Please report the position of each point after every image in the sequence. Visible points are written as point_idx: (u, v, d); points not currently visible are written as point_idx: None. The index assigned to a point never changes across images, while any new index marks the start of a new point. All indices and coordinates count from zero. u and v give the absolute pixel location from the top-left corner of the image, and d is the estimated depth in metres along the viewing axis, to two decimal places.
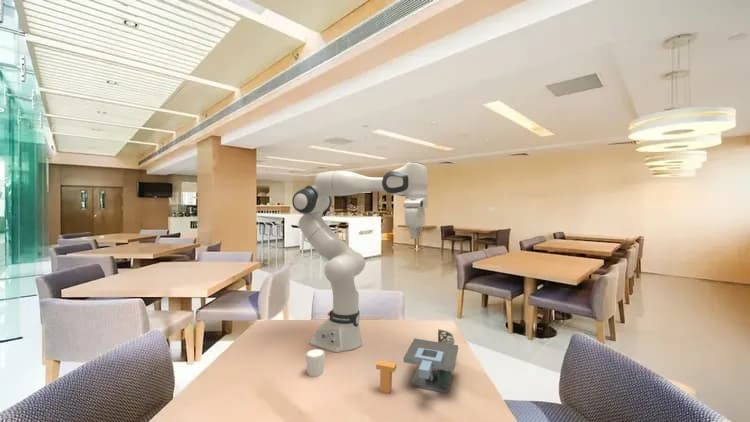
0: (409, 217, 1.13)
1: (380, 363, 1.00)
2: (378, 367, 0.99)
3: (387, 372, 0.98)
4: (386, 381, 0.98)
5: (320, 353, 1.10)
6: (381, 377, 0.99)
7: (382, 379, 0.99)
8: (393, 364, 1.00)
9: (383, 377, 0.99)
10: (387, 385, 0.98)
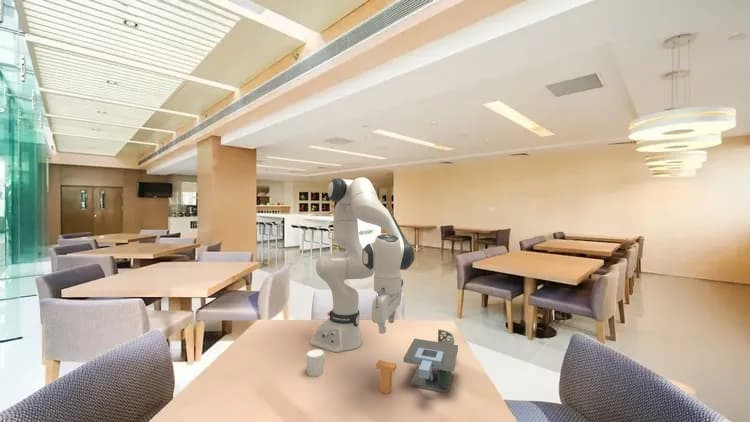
0: None
1: (380, 363, 1.00)
2: (378, 367, 0.99)
3: (387, 372, 0.98)
4: (386, 381, 0.98)
5: (320, 353, 1.10)
6: (381, 377, 0.99)
7: (382, 379, 0.99)
8: (393, 364, 1.00)
9: (383, 377, 0.99)
10: (387, 385, 0.98)
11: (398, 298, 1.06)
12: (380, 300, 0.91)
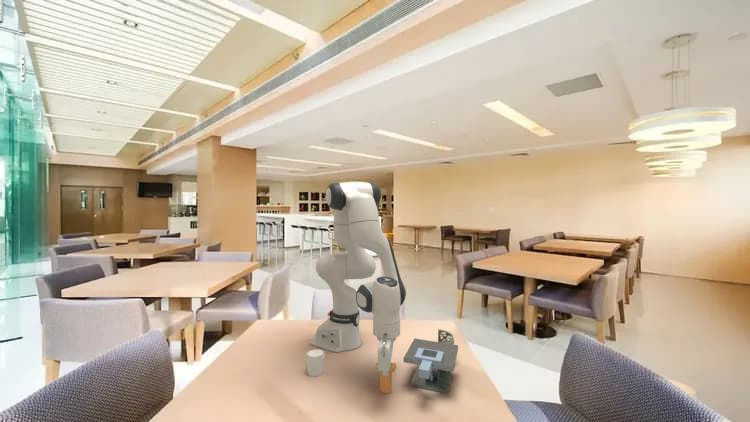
0: None
1: None
2: None
3: None
4: (386, 381, 0.98)
5: (320, 353, 1.10)
6: (381, 377, 0.99)
7: (382, 379, 0.99)
8: (393, 364, 1.00)
9: (383, 377, 0.99)
10: (387, 385, 0.98)
11: None
12: (386, 348, 0.91)
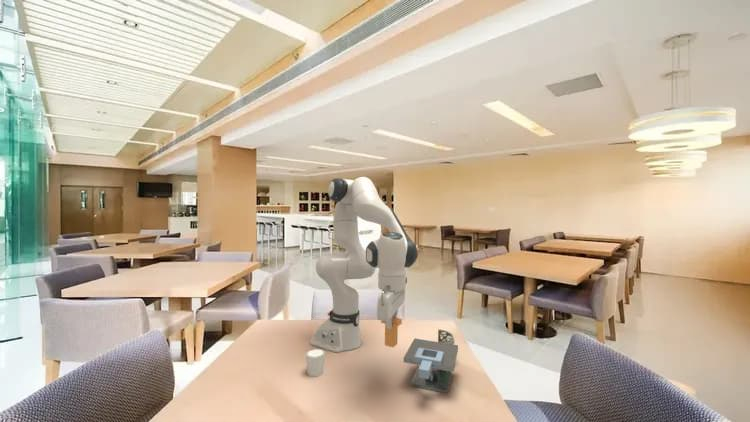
0: None
1: None
2: (383, 321, 1.00)
3: None
4: (390, 335, 0.98)
5: (320, 353, 1.10)
6: (386, 331, 0.99)
7: (387, 333, 0.99)
8: (398, 319, 0.99)
9: (388, 331, 0.99)
10: (391, 339, 0.98)
11: (402, 296, 1.06)
12: (385, 297, 0.91)
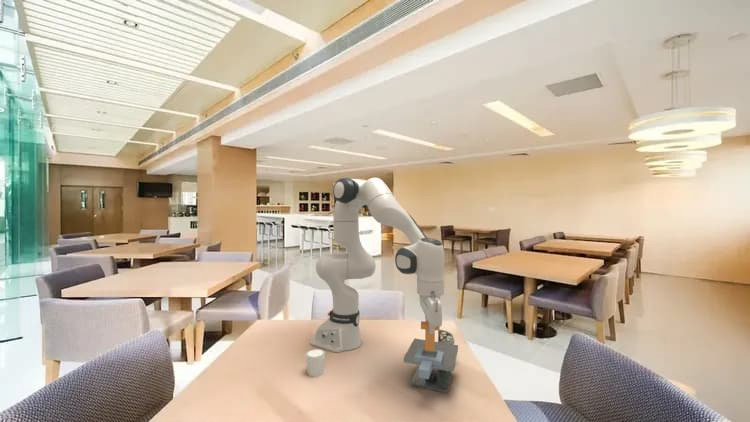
0: None
1: (424, 323, 1.01)
2: (423, 327, 1.00)
3: None
4: (431, 339, 0.99)
5: (320, 353, 1.10)
6: (426, 336, 1.00)
7: (427, 338, 1.00)
8: None
9: (428, 336, 1.00)
10: (432, 344, 0.99)
11: None
12: (438, 303, 0.92)
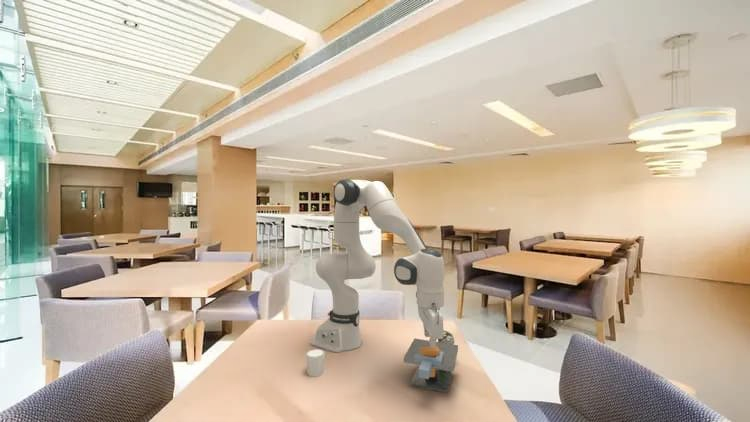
0: None
1: (424, 349, 1.01)
2: (423, 353, 1.00)
3: (433, 356, 1.00)
4: None
5: (320, 353, 1.10)
6: None
7: None
8: (436, 348, 1.02)
9: None
10: (433, 369, 1.00)
11: None
12: None
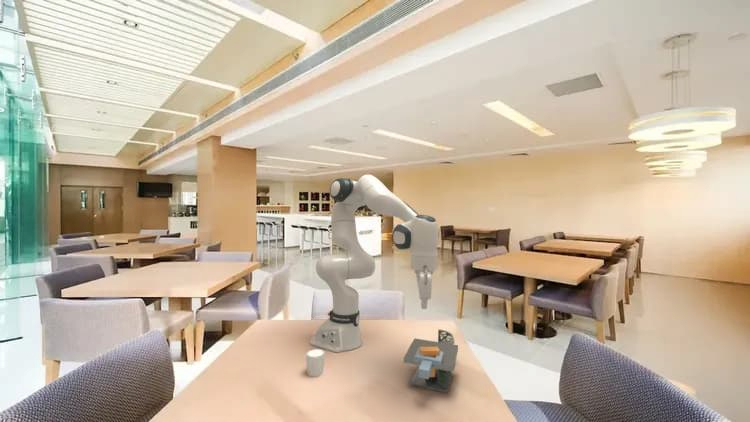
0: None
1: (424, 349, 1.01)
2: (423, 353, 1.00)
3: (433, 356, 1.00)
4: None
5: (320, 353, 1.10)
6: None
7: None
8: (436, 348, 1.02)
9: None
10: (433, 369, 1.00)
11: None
12: (428, 277, 0.95)
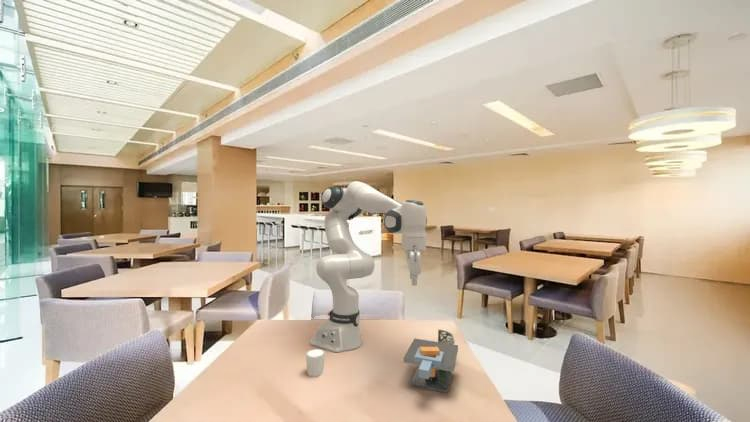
0: None
1: (424, 349, 1.01)
2: (423, 353, 1.00)
3: (433, 356, 1.00)
4: None
5: (320, 353, 1.10)
6: None
7: None
8: (436, 348, 1.02)
9: None
10: (433, 369, 1.00)
11: None
12: (417, 254, 1.04)
